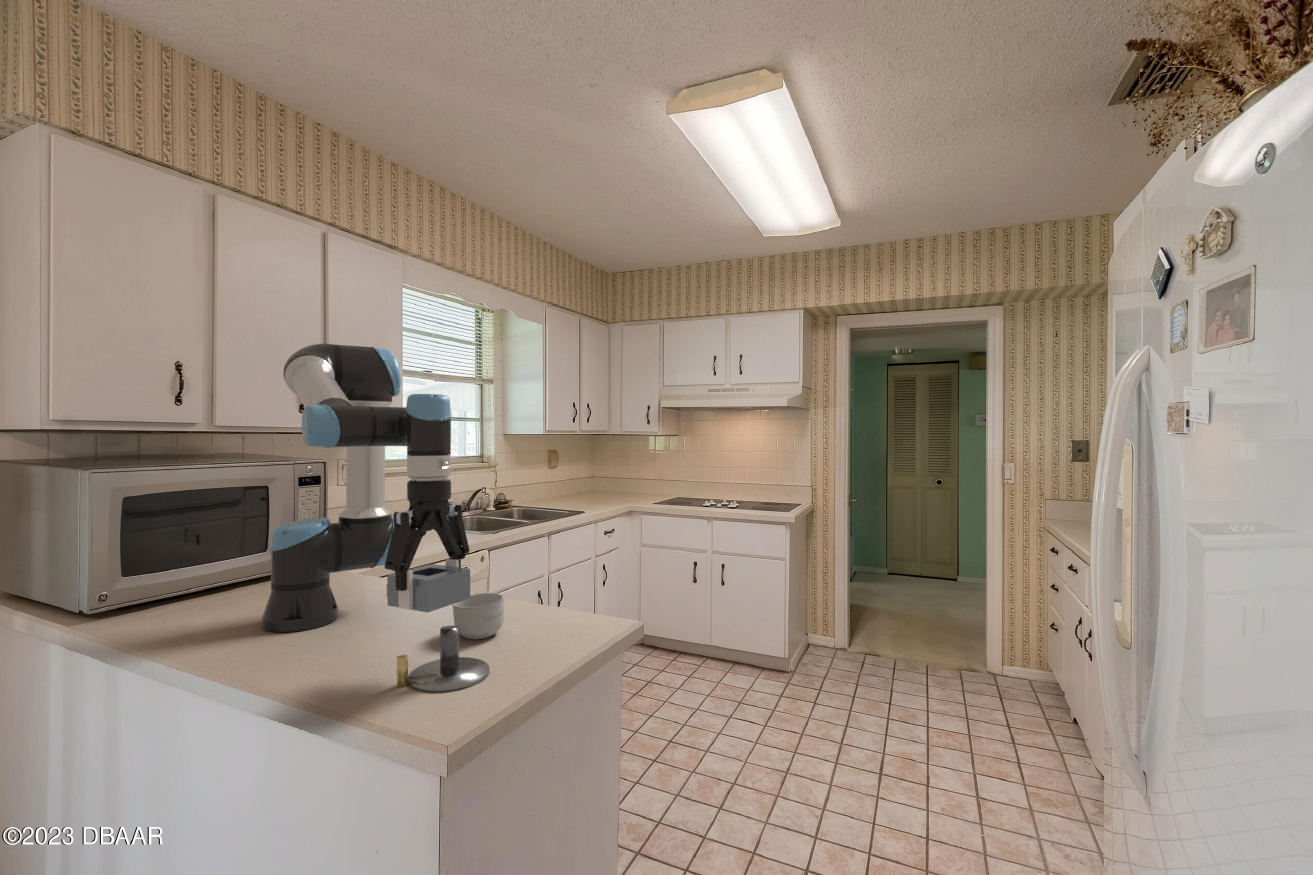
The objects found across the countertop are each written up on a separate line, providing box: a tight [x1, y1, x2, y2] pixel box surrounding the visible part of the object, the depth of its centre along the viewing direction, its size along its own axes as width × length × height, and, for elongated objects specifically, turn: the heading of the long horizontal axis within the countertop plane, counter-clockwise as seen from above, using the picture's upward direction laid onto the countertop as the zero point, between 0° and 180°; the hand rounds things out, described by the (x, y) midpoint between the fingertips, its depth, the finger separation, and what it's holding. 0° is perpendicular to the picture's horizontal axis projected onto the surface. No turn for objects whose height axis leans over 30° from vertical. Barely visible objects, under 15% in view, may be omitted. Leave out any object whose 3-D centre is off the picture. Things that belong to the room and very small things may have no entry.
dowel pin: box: [396, 654, 409, 688], centre depth 104 cm, size 2×2×5 cm
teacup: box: [452, 590, 505, 640], centre depth 131 cm, size 14×11×8 cm
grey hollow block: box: [386, 563, 471, 613], centre depth 109 cm, size 15×10×6 cm, turn 63°
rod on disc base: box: [408, 625, 490, 693], centre depth 108 cm, size 14×14×9 cm
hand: (430, 600), depth 108 cm, fingers closed on grey hollow block, 10 cm apart
